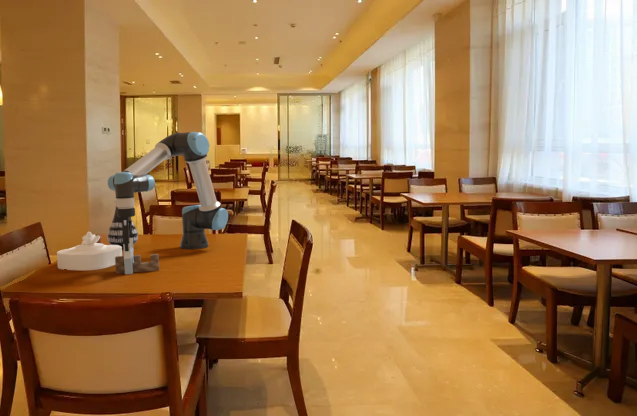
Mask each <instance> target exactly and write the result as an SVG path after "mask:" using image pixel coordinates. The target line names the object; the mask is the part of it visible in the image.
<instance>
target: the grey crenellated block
mask: <svg viewBox="0 0 637 416" xmlns="http://www.w3.org/2000/svg"><path fill="white" fill-rule="evenodd" d="M141 257H142V256H141V254H135V255H134V254H133V258H134V263H133V264H132V267H133V273H143V272H157V271H160V261H159V259H160V258H159V253H152V254H150V261H146V262H143V261H142V260H141V259H142V258H141ZM114 266H115V274H125V266H124V255H122V256H116V257H115V265H114Z"/></svg>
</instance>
